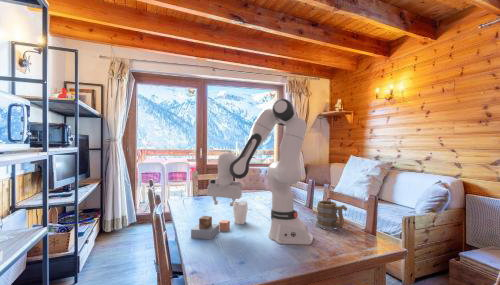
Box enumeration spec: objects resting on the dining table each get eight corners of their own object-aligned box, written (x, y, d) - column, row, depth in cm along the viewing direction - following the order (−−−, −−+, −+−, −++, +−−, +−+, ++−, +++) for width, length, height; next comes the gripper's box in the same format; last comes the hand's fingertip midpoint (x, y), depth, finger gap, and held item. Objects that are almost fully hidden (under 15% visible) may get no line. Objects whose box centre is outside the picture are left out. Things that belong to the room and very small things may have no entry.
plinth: (219, 231, 129) (219, 224, 129) (210, 239, 119) (210, 231, 119) (200, 229, 132) (200, 222, 132) (191, 237, 122) (191, 229, 122)
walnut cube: (211, 225, 127) (211, 216, 127) (207, 228, 122) (207, 219, 122) (203, 224, 128) (203, 215, 129) (199, 228, 124) (199, 218, 124)
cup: (239, 219, 152) (239, 200, 152) (250, 221, 147) (250, 202, 147) (229, 222, 145) (230, 203, 145) (241, 225, 139) (241, 205, 139)
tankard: (311, 224, 143) (311, 199, 143) (326, 221, 148) (326, 197, 149) (337, 235, 125) (337, 207, 125) (353, 232, 131) (353, 204, 131)
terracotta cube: (229, 228, 135) (229, 220, 135) (226, 231, 131) (226, 223, 131) (222, 227, 136) (222, 220, 136) (219, 230, 132) (219, 222, 132)
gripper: (243, 181, 134) (242, 205, 134) (210, 178, 140) (209, 202, 139) (240, 182, 128) (239, 208, 128) (206, 180, 133) (205, 204, 133)
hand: (223, 205), depth 134 cm, fingers open, 8 cm apart
